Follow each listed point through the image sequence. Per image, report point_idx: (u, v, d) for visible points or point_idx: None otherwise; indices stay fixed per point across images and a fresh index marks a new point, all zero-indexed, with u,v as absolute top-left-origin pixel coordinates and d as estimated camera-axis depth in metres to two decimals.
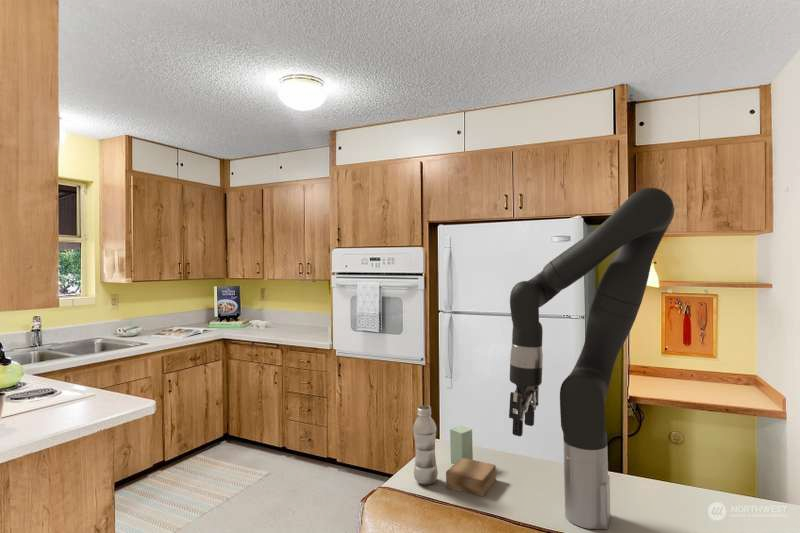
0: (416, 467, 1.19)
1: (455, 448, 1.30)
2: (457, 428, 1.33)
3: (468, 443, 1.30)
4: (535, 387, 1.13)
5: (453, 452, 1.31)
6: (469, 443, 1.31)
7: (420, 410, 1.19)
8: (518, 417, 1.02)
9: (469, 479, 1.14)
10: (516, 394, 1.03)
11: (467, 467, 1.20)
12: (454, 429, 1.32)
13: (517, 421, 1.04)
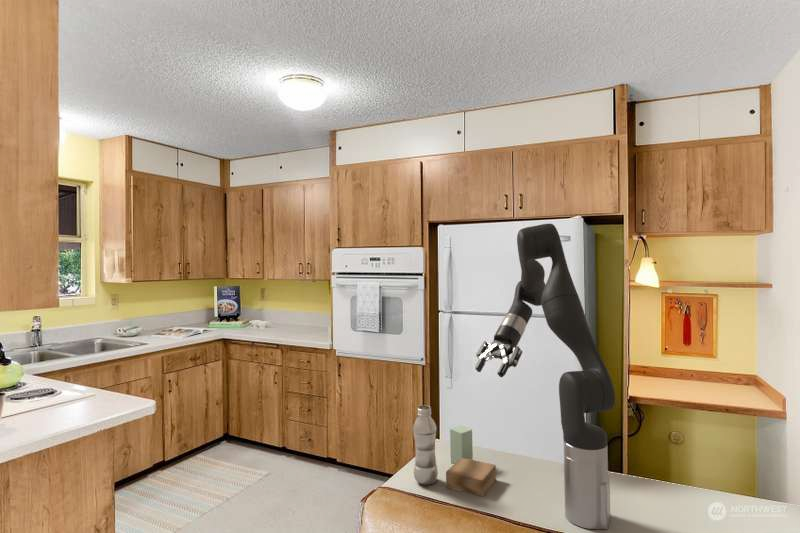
0: (416, 467, 1.19)
1: (455, 448, 1.30)
2: (457, 428, 1.33)
3: (468, 443, 1.30)
4: None
5: (453, 452, 1.31)
6: (469, 443, 1.31)
7: (420, 410, 1.19)
8: None
9: (469, 479, 1.14)
10: None
11: (467, 467, 1.20)
12: (454, 429, 1.32)
13: None
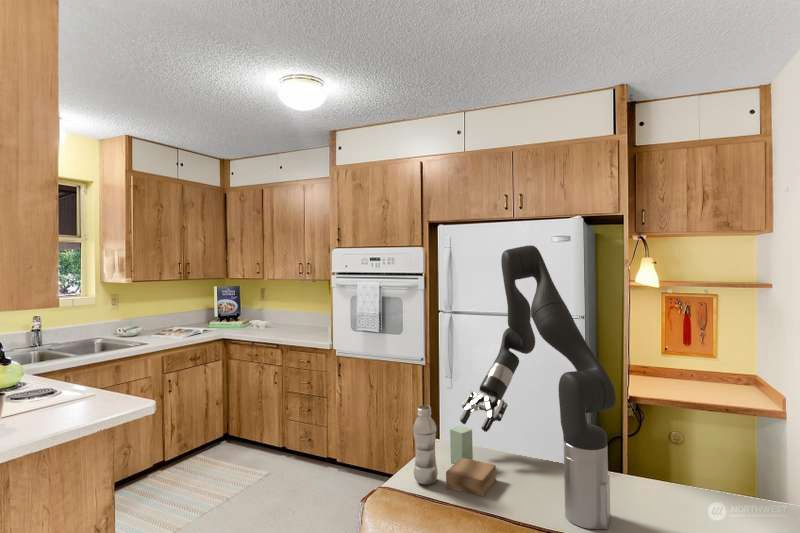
0: (416, 467, 1.19)
1: (455, 448, 1.30)
2: (457, 428, 1.33)
3: (468, 443, 1.30)
4: None
5: (453, 452, 1.31)
6: (469, 443, 1.31)
7: (420, 410, 1.19)
8: None
9: (469, 479, 1.14)
10: None
11: (467, 467, 1.20)
12: (454, 429, 1.32)
13: None
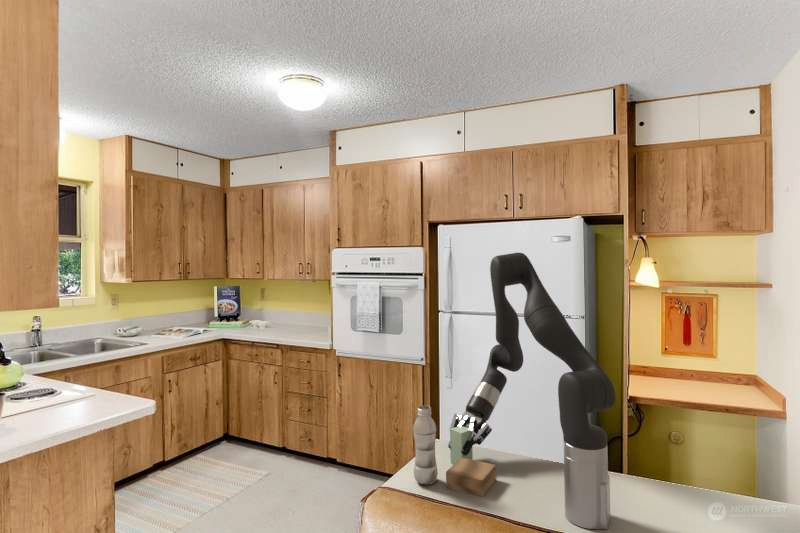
0: (416, 467, 1.19)
1: (455, 447, 1.30)
2: (457, 428, 1.33)
3: None
4: None
5: (453, 452, 1.31)
6: None
7: (420, 410, 1.19)
8: None
9: (469, 479, 1.14)
10: None
11: (467, 467, 1.20)
12: (454, 429, 1.32)
13: None
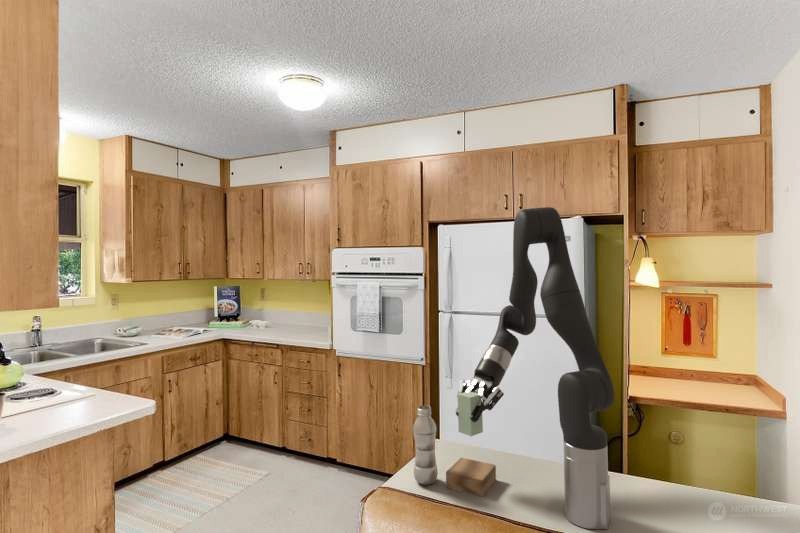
0: (416, 467, 1.19)
1: (463, 414, 1.18)
2: (465, 393, 1.21)
3: None
4: None
5: (461, 419, 1.19)
6: None
7: (420, 410, 1.19)
8: None
9: (469, 479, 1.14)
10: None
11: (467, 467, 1.20)
12: (462, 394, 1.20)
13: None
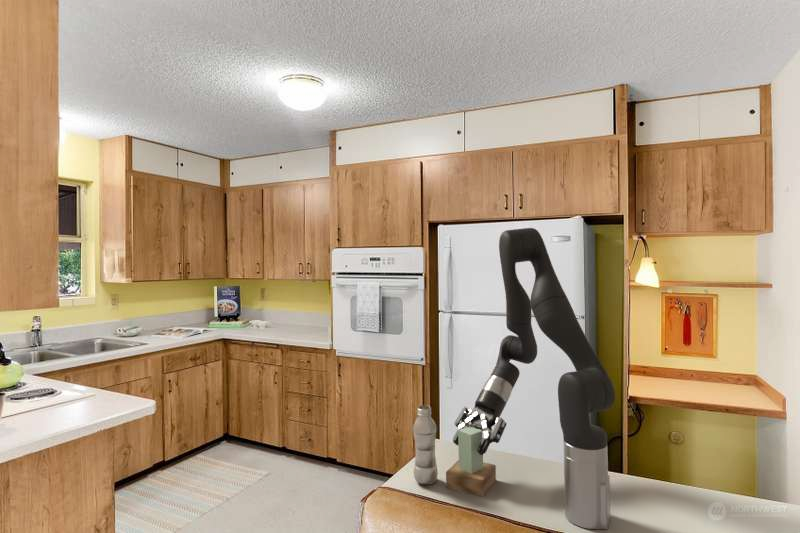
0: (416, 467, 1.19)
1: (464, 451, 1.18)
2: (466, 429, 1.21)
3: (478, 445, 1.18)
4: None
5: (462, 455, 1.19)
6: None
7: (420, 410, 1.19)
8: None
9: (469, 479, 1.14)
10: None
11: None
12: (462, 430, 1.20)
13: None
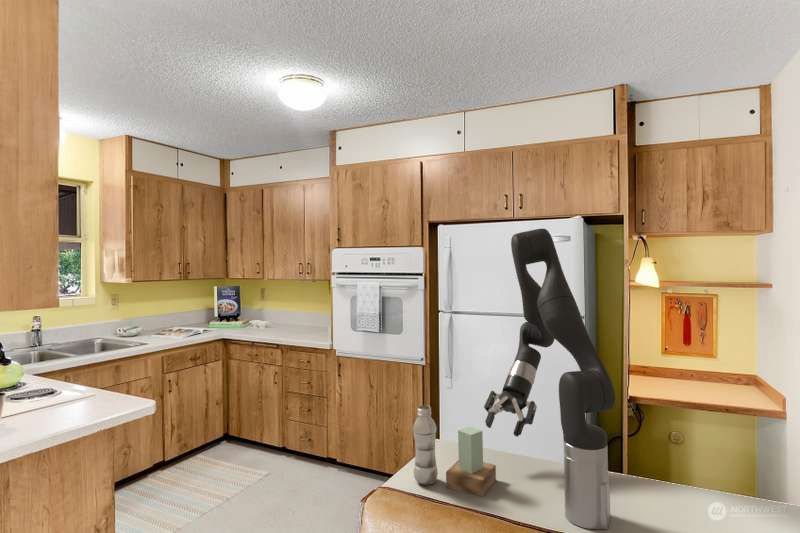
0: (416, 467, 1.19)
1: (464, 451, 1.18)
2: (466, 429, 1.21)
3: (478, 445, 1.18)
4: None
5: (462, 455, 1.19)
6: (479, 446, 1.18)
7: (420, 410, 1.19)
8: (484, 406, 1.33)
9: (469, 479, 1.14)
10: None
11: None
12: (462, 430, 1.20)
13: None
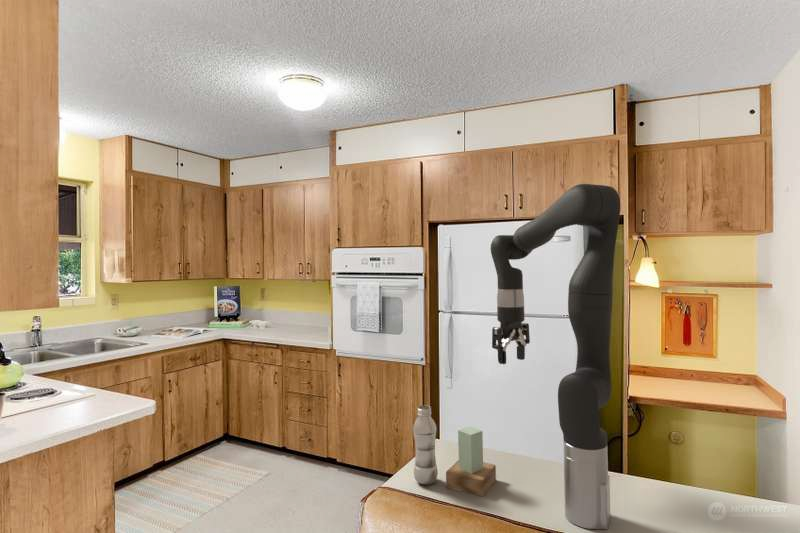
0: (416, 467, 1.19)
1: (464, 451, 1.18)
2: (466, 429, 1.21)
3: (478, 445, 1.18)
4: (525, 327, 1.32)
5: (462, 455, 1.19)
6: (479, 446, 1.18)
7: (420, 410, 1.19)
8: (498, 346, 1.24)
9: (469, 479, 1.14)
10: (496, 328, 1.24)
11: None
12: (462, 430, 1.20)
13: (500, 351, 1.25)
